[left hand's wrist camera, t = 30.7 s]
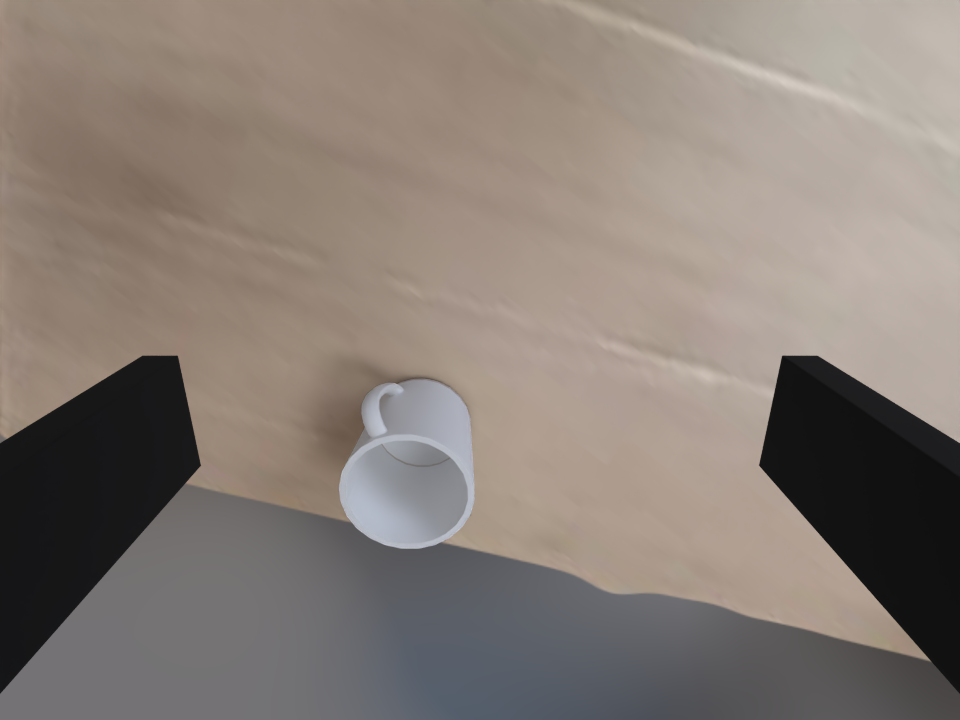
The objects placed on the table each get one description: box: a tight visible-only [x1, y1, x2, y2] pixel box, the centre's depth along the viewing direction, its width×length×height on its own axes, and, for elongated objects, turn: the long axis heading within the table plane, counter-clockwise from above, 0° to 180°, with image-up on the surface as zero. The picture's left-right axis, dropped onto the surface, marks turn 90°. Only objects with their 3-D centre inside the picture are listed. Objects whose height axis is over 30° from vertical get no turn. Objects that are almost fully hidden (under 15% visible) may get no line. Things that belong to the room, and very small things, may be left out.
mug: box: [339, 379, 474, 549], centre depth 41 cm, size 11×9×10 cm
